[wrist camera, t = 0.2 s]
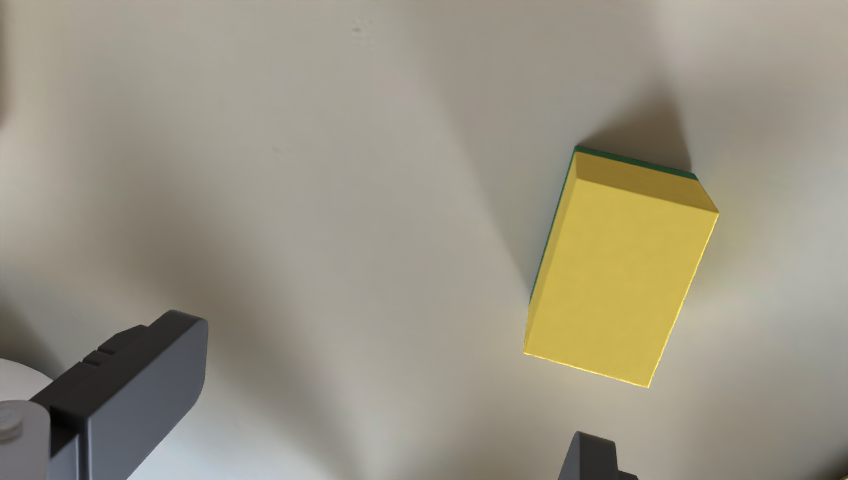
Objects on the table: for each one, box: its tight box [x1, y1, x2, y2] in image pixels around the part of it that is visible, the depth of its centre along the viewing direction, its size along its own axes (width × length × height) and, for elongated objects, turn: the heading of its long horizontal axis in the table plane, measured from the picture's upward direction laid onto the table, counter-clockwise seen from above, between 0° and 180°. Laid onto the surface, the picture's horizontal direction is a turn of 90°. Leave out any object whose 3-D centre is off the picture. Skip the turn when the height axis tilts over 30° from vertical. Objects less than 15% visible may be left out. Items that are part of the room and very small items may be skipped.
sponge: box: [523, 146, 719, 388], centre depth 26 cm, size 8×5×5 cm, turn 169°
